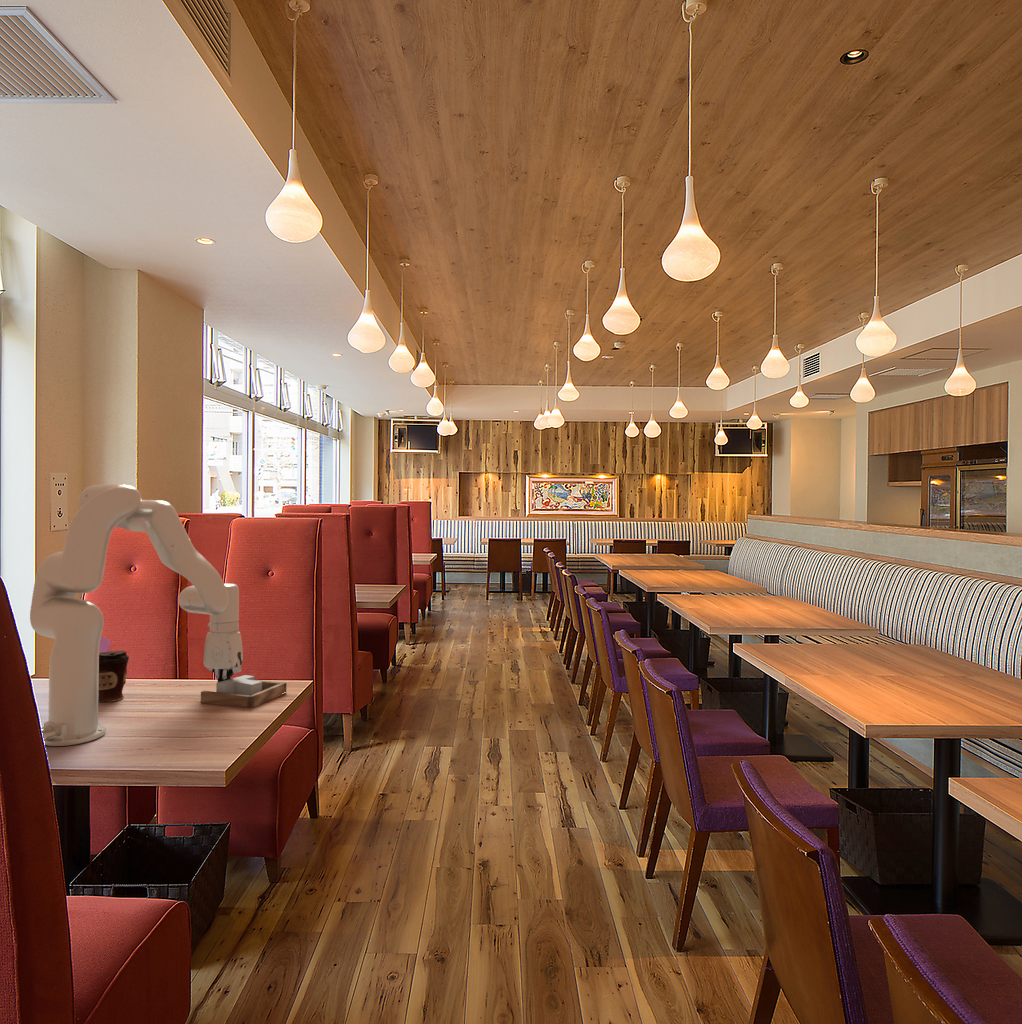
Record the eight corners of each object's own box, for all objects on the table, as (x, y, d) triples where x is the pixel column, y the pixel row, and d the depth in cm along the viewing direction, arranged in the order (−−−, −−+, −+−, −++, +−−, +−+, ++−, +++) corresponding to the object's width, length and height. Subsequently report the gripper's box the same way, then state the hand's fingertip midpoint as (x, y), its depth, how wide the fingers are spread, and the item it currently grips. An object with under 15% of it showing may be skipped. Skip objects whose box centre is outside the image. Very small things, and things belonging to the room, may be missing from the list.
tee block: (242, 706, 175) (242, 687, 175) (216, 700, 180) (216, 682, 180) (270, 696, 184) (271, 679, 184) (245, 692, 188) (245, 674, 188)
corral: (251, 708, 173) (251, 697, 173) (200, 702, 178) (200, 691, 178) (286, 693, 188) (286, 682, 188) (239, 688, 192) (239, 678, 192)
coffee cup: (115, 704, 175) (115, 656, 175) (84, 704, 175) (85, 655, 175) (134, 695, 184) (135, 649, 184) (105, 695, 184) (106, 649, 184)
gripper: (192, 628, 183) (192, 693, 183) (237, 631, 179) (237, 697, 179) (211, 623, 191) (211, 686, 191) (255, 626, 186) (254, 690, 186)
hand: (223, 691), depth 185 cm, fingers closed
